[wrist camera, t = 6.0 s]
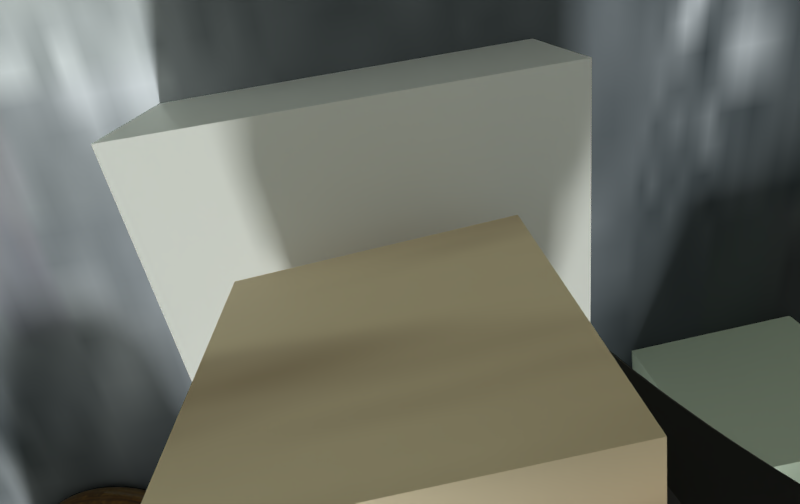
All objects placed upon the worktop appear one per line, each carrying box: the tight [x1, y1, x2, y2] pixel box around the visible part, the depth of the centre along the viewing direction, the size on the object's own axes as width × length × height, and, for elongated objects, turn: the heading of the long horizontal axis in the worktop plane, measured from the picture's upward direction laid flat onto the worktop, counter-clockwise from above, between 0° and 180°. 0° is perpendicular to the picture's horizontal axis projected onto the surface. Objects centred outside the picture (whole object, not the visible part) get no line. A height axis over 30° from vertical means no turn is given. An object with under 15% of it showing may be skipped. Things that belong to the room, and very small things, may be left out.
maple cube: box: [141, 215, 667, 504], centre depth 8 cm, size 5×5×5 cm
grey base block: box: [91, 39, 592, 381], centre depth 13 cm, size 9×9×4 cm
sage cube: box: [632, 316, 800, 483], centre depth 16 cm, size 5×5×5 cm
